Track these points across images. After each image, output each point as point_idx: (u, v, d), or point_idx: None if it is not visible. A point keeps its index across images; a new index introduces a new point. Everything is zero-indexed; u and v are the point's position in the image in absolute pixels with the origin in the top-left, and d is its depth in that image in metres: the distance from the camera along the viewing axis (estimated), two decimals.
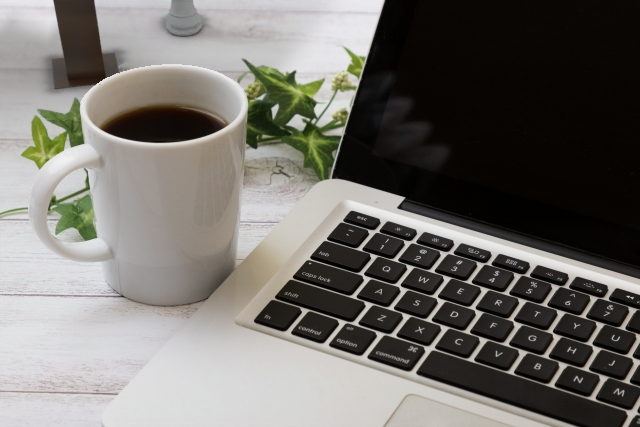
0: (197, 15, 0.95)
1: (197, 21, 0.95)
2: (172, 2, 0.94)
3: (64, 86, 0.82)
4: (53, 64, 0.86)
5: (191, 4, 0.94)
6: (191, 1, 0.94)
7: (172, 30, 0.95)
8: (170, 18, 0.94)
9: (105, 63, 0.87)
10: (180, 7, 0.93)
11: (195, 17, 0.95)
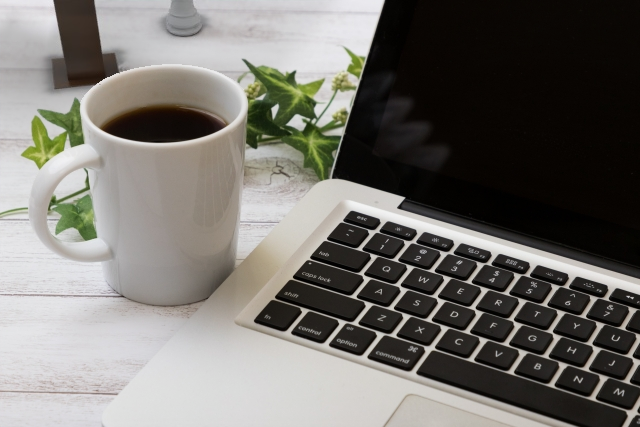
0: (197, 15, 0.95)
1: (197, 21, 0.95)
2: (172, 2, 0.94)
3: (64, 86, 0.82)
4: (53, 64, 0.86)
5: (191, 4, 0.94)
6: (191, 1, 0.94)
7: (172, 30, 0.95)
8: (170, 18, 0.94)
9: (105, 63, 0.87)
10: (180, 7, 0.93)
11: (195, 17, 0.95)
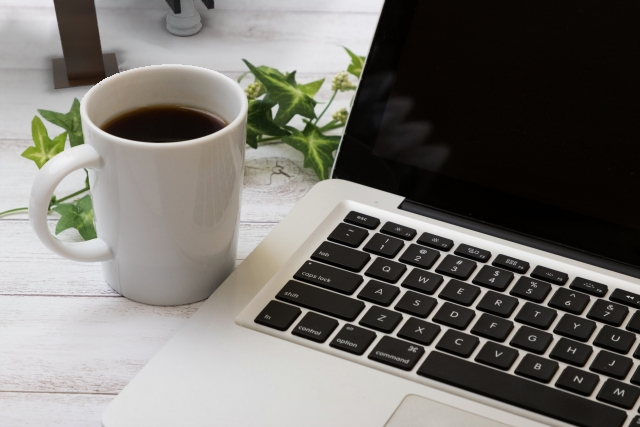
0: (197, 15, 0.95)
1: (197, 21, 0.95)
2: None
3: (64, 86, 0.82)
4: (53, 64, 0.86)
5: (191, 4, 0.94)
6: (191, 1, 0.94)
7: (172, 30, 0.95)
8: (170, 18, 0.94)
9: (105, 63, 0.87)
10: None
11: (195, 17, 0.95)
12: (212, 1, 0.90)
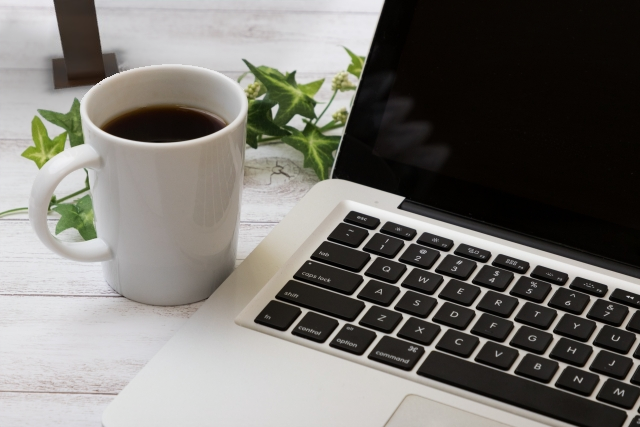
0: None
1: None
2: None
3: (64, 86, 0.82)
4: (53, 64, 0.86)
5: None
6: None
7: None
8: None
9: (105, 63, 0.87)
10: None
11: None
12: None
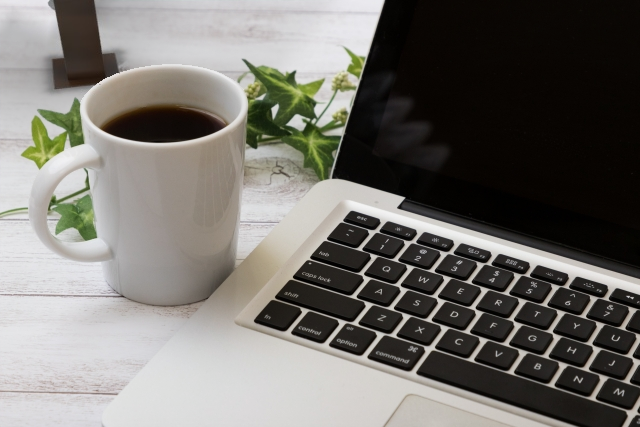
0: None
1: None
2: None
3: (64, 86, 0.82)
4: (53, 64, 0.86)
5: None
6: None
7: (53, 6, 0.96)
8: None
9: (105, 63, 0.87)
10: None
11: None
12: None
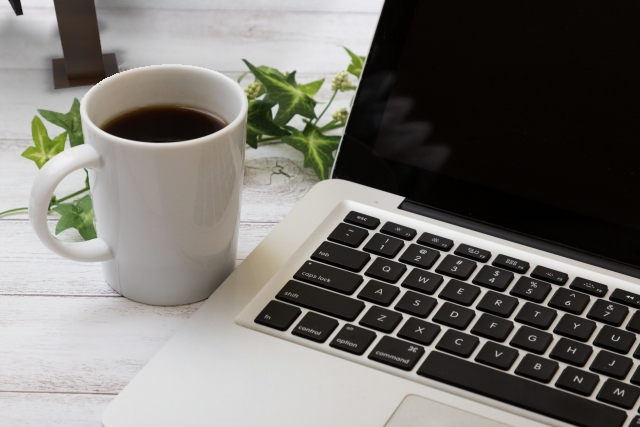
0: None
1: None
2: None
3: (64, 86, 0.82)
4: (53, 64, 0.86)
5: None
6: None
7: None
8: None
9: (105, 63, 0.87)
10: None
11: None
12: None
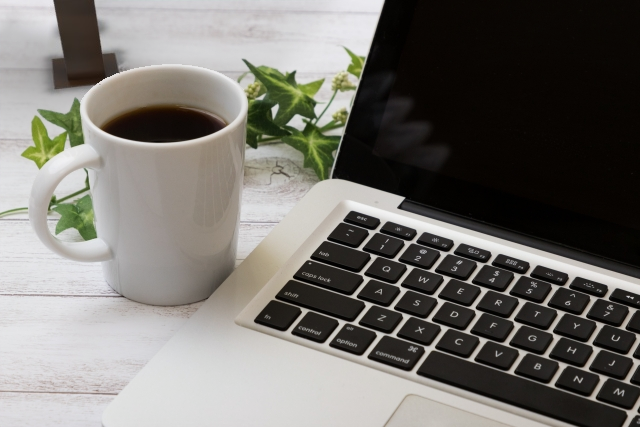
0: None
1: None
2: None
3: (64, 86, 0.82)
4: (53, 64, 0.86)
5: None
6: None
7: None
8: None
9: (105, 63, 0.87)
10: None
11: None
12: None
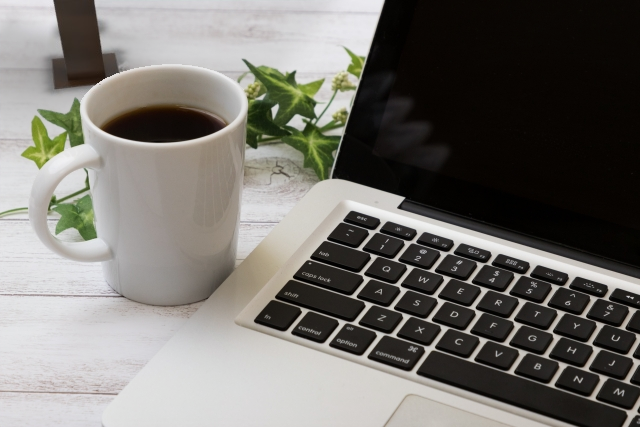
0: None
1: None
2: None
3: (64, 86, 0.82)
4: (53, 64, 0.86)
5: None
6: None
7: None
8: None
9: (105, 63, 0.87)
10: None
11: None
12: None
